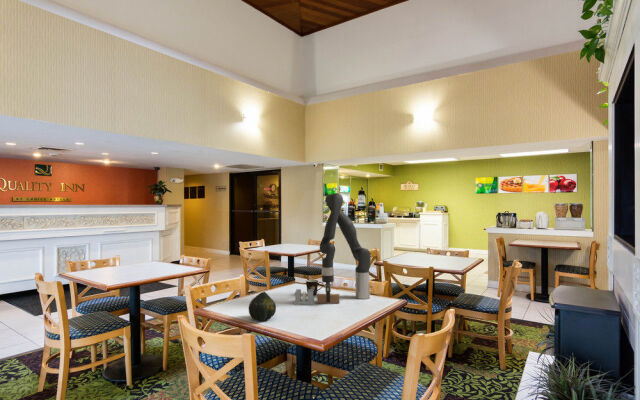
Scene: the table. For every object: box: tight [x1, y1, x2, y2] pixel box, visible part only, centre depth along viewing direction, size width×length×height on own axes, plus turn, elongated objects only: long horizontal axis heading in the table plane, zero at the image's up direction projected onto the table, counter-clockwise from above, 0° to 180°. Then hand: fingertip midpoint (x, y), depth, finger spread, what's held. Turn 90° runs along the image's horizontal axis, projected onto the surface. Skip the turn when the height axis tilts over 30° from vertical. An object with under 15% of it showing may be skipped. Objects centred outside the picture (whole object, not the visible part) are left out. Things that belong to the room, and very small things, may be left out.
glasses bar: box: [316, 293, 340, 304], centre depth 227 cm, size 14×3×5 cm, turn 87°
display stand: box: [293, 288, 315, 306], centre depth 228 cm, size 12×10×8 cm
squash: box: [248, 291, 277, 322], centre depth 196 cm, size 14×15×15 cm
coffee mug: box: [305, 279, 324, 297], centre depth 248 cm, size 12×9×10 cm
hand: (328, 301), depth 227 cm, fingers closed on glasses bar, 3 cm apart
